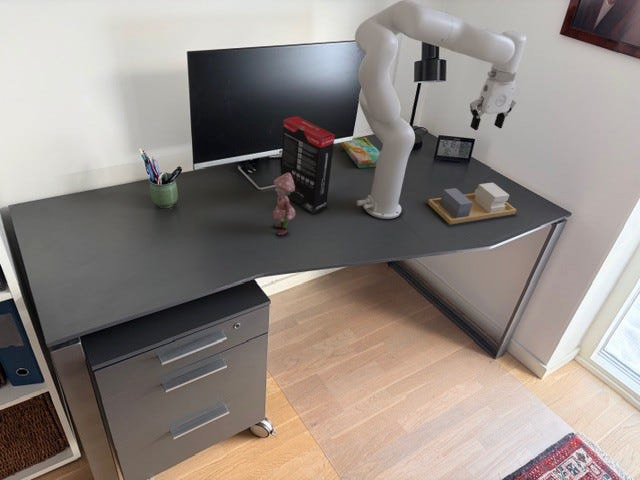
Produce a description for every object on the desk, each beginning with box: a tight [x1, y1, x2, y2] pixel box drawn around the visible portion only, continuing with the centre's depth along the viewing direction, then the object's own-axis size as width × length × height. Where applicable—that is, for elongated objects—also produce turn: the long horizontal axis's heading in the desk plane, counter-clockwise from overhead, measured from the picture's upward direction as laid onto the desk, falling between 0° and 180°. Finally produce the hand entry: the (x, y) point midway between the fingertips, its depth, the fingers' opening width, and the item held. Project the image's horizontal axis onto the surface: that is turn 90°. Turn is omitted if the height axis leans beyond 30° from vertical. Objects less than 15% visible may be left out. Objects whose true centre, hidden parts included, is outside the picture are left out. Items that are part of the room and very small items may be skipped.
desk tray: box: [427, 192, 517, 225], centre depth 173 cm, size 28×14×2 cm, turn 112°
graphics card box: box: [280, 115, 336, 214], centre depth 160 cm, size 17×7×27 cm, turn 47°
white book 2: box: [473, 188, 505, 207], centre depth 174 cm, size 6×9×2 cm
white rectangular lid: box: [476, 182, 510, 203], centre depth 172 cm, size 6×9×2 cm
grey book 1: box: [441, 187, 473, 212], centre depth 168 cm, size 5×10×3 cm, turn 22°
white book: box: [474, 196, 506, 213], centre depth 175 cm, size 6×9×2 cm
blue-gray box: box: [440, 197, 471, 218], centre depth 169 cm, size 5×10×3 cm, turn 22°
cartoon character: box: [272, 173, 296, 236], centre depth 147 cm, size 10×7×20 cm
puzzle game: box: [340, 137, 381, 169], centre depth 198 cm, size 12×5×20 cm
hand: (485, 127), depth 162 cm, fingers open, 9 cm apart
